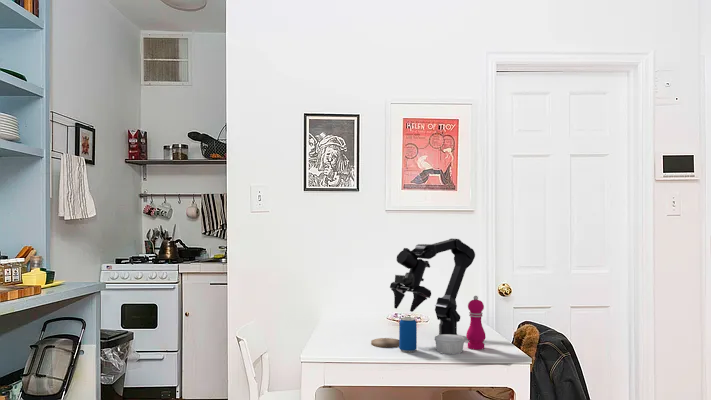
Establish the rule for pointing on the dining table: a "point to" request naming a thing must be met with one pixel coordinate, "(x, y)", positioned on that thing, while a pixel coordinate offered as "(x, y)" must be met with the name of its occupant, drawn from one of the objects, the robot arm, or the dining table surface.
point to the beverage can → (407, 334)
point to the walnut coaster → (385, 342)
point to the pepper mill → (475, 325)
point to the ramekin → (449, 343)
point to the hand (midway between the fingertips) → (403, 309)
